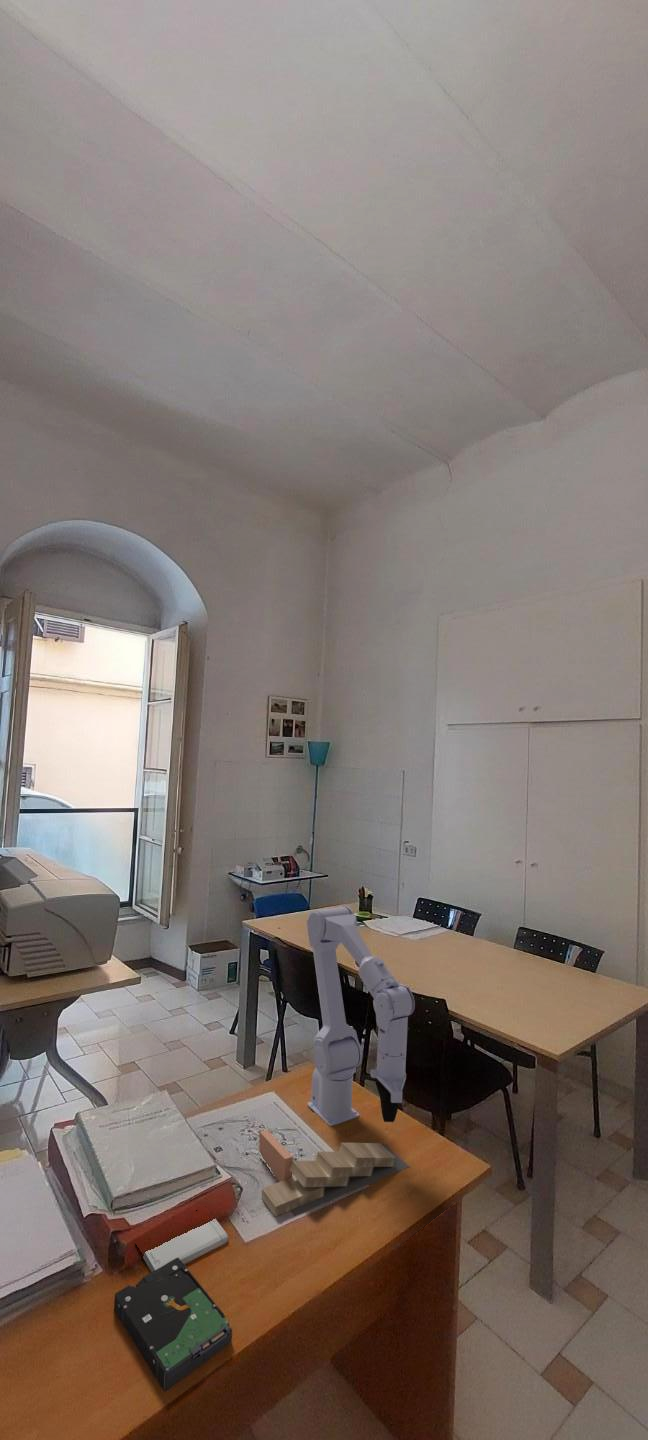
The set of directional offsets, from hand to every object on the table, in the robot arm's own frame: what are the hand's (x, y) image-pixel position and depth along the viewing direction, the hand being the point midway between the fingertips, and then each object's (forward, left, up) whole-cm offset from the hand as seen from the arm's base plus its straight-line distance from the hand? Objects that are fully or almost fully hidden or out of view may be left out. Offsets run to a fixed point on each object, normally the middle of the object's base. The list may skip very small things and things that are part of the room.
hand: (388, 1119), depth 122 cm
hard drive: (-1, -42, -9) cm, 43 cm away
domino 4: (0, -5, -7) cm, 9 cm away
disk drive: (+12, -48, -8) cm, 51 cm away
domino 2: (0, -16, -7) cm, 18 cm away
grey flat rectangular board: (0, -10, -8) cm, 13 cm away
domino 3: (0, -11, -7) cm, 13 cm away
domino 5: (0, 0, -7) cm, 7 cm away
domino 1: (-3, -21, -5) cm, 22 cm away
